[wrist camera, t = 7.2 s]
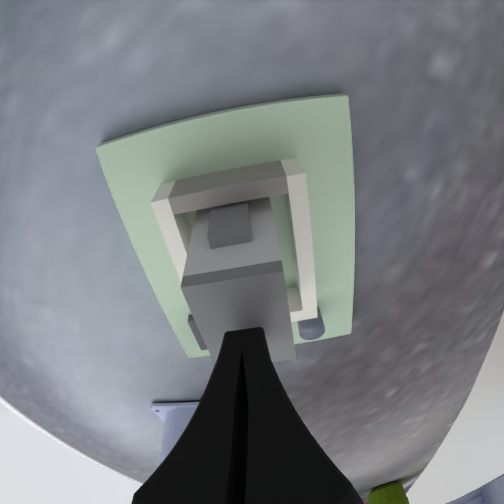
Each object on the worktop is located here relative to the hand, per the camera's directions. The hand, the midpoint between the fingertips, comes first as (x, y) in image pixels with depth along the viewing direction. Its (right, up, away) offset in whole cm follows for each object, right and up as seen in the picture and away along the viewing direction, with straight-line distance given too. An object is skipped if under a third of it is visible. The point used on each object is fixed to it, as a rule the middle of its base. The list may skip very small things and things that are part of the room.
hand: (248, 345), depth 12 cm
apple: (+40, -66, +58) cm, 96 cm away
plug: (0, +4, +5) cm, 7 cm away
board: (0, +3, +7) cm, 8 cm away
